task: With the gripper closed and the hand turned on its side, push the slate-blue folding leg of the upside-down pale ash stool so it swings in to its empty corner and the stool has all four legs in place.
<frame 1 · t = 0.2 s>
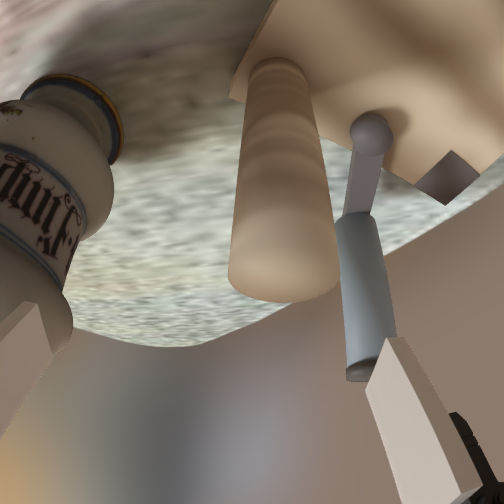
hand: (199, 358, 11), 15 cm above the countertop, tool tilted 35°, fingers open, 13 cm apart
ash stool: (432, 38, 13), on the countertop
folding leg: (377, 256, 17), point 9 cm above the countertop, hinge at -60.0°
apothecary jar: (68, 127, 20), on the countertop, touching gripper
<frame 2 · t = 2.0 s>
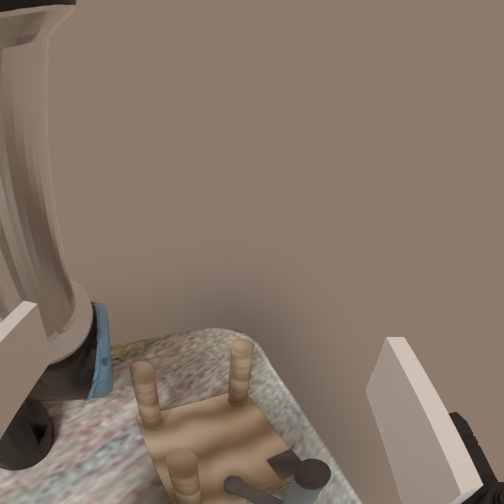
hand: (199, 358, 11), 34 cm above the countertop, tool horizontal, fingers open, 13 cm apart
ash stool: (216, 454, 39), on the countertop
folding leg: (269, 482, 27), point 9 cm above the countertop, hinge at -60.0°
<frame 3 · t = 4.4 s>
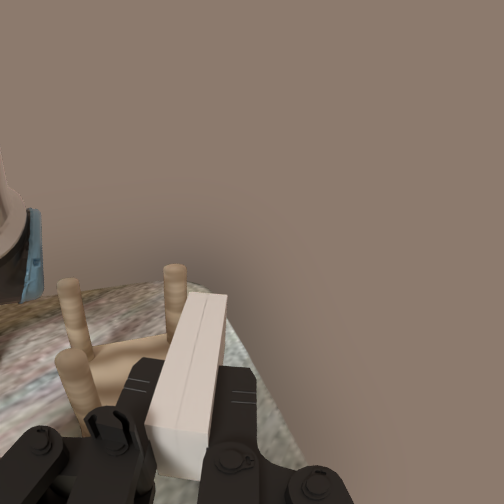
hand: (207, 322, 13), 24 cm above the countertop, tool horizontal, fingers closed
ash stool: (145, 395, 36), on the countertop
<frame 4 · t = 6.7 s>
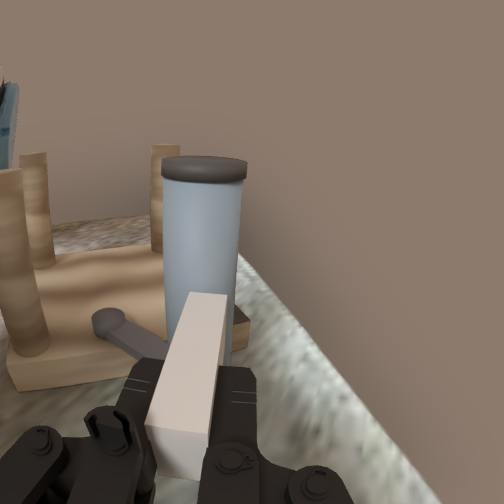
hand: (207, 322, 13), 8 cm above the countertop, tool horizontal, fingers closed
ash stool: (114, 309, 27), on the countertop
folding leg: (144, 269, 16), point 9 cm above the countertop, hinge at -60.0°, touching gripper
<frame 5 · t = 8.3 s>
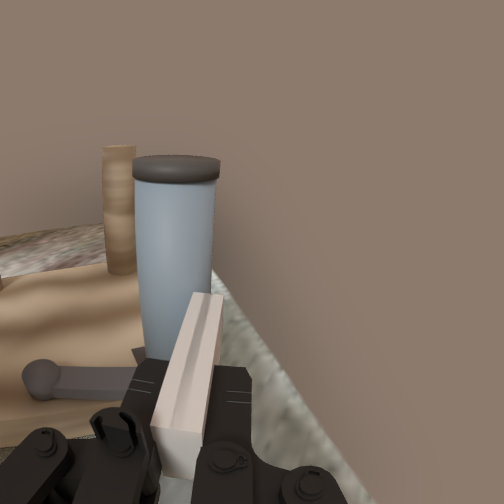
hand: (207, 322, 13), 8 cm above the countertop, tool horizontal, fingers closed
ash stool: (62, 346, 21), on the countertop
folding leg: (93, 296, 13), point 9 cm above the countertop, hinge at -16.8°, touching gripper
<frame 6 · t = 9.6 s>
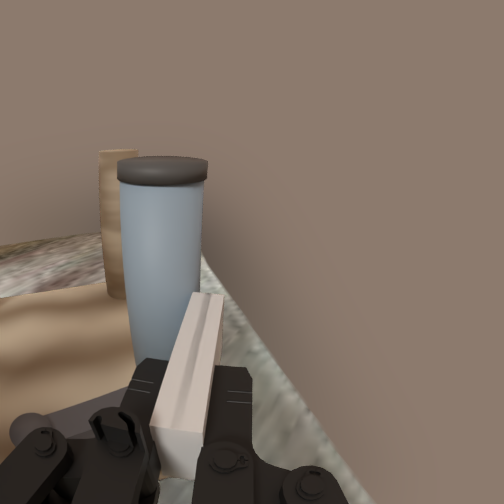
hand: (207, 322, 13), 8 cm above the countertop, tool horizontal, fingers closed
ash stool: (57, 383, 17), on the countertop
folding leg: (82, 324, 11), point 9 cm above the countertop, hinge at 11.1°, touching gripper
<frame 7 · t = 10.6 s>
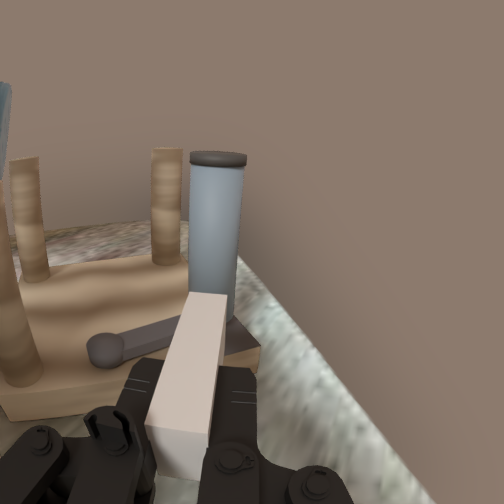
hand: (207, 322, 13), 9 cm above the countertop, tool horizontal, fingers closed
ash stool: (112, 328, 25), on the countertop
folding leg: (160, 256, 18), point 9 cm above the countertop, hinge at 11.0°
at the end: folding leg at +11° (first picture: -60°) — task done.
